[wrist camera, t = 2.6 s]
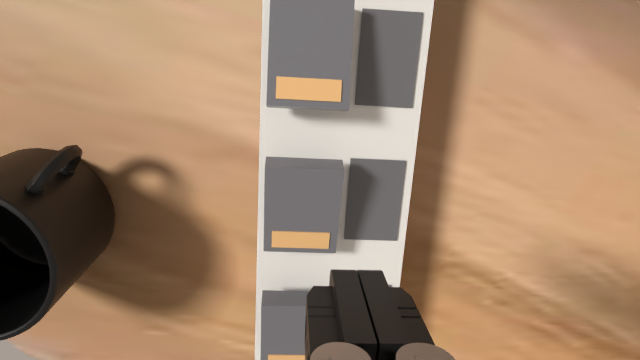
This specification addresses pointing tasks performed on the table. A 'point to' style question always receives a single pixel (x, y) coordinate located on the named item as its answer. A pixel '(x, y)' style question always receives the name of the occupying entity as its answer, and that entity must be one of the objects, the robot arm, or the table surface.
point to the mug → (47, 230)
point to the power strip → (354, 148)
